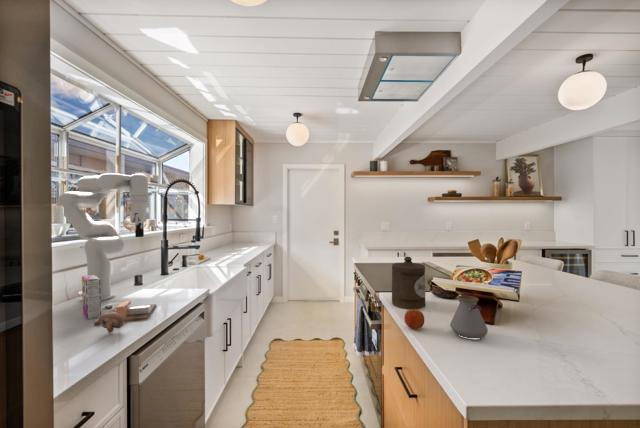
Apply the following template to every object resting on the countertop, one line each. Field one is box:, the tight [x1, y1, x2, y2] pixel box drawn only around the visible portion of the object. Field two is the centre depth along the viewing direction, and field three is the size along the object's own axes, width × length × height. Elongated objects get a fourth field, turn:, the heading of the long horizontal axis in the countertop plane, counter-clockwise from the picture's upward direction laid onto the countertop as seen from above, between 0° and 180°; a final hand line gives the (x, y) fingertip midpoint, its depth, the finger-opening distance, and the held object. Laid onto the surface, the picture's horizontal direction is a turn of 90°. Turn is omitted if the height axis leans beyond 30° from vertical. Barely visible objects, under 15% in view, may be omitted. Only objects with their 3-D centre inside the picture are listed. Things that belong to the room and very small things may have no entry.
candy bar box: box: [81, 275, 102, 320], centre depth 125 cm, size 11×5×16 cm, turn 47°
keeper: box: [115, 300, 132, 319], centre depth 120 cm, size 3×8×5 cm, turn 19°
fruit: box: [403, 309, 425, 331], centre depth 106 cm, size 7×7×8 cm
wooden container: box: [391, 256, 426, 310], centre depth 134 cm, size 15×15×22 cm
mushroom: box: [98, 312, 125, 334], centre depth 105 cm, size 8×6×8 cm
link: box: [101, 304, 151, 315], centre depth 121 cm, size 18×5×4 cm, turn 105°
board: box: [93, 303, 157, 327], centre depth 124 cm, size 18×18×1 cm
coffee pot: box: [449, 294, 488, 339], centre depth 95 cm, size 21×12×15 cm, turn 161°
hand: (139, 236), depth 143 cm, fingers closed
